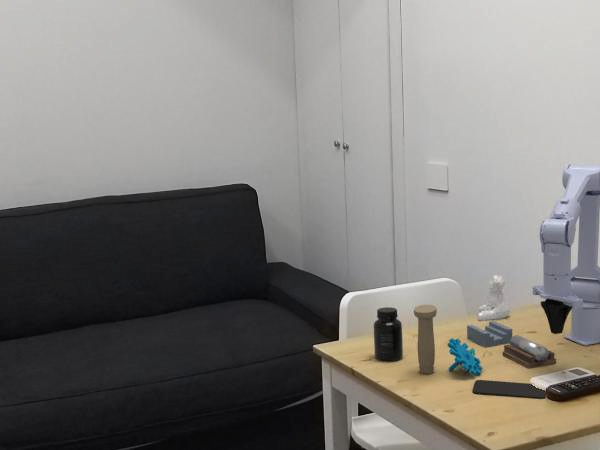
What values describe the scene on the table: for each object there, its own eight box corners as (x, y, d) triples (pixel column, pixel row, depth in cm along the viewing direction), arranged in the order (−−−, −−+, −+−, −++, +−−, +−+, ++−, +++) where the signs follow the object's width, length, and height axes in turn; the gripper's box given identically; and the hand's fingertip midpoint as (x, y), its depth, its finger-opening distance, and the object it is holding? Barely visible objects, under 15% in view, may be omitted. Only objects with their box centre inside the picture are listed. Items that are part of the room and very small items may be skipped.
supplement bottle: (408, 356, 196) (407, 308, 194) (391, 364, 191) (390, 315, 189) (385, 351, 201) (384, 304, 199) (368, 358, 196) (367, 310, 194)
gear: (474, 375, 177) (445, 339, 180) (455, 391, 179) (427, 355, 183) (492, 366, 186) (464, 332, 189) (473, 381, 188) (446, 347, 192)
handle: (413, 376, 183) (411, 312, 180) (418, 366, 189) (417, 304, 186) (434, 377, 181) (433, 313, 179) (439, 367, 187) (438, 305, 185)
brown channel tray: (529, 350, 196) (529, 340, 195) (555, 362, 187) (555, 352, 186) (502, 355, 193) (502, 345, 193) (528, 368, 184) (528, 357, 184)
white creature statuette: (479, 311, 231) (478, 270, 228) (510, 312, 228) (510, 270, 226) (477, 321, 222) (476, 278, 220) (509, 322, 219) (509, 279, 217)
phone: (545, 397, 166) (471, 391, 171) (545, 401, 166) (471, 395, 171) (546, 384, 173) (475, 379, 178) (546, 388, 173) (475, 382, 178)
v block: (493, 333, 210) (493, 320, 209) (512, 342, 202) (512, 328, 202) (467, 338, 207) (467, 325, 206) (485, 347, 200) (484, 333, 199)
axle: (509, 350, 194) (509, 336, 193) (521, 347, 195) (521, 333, 194) (535, 362, 185) (535, 348, 184) (548, 360, 186) (548, 345, 185)
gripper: (521, 268, 182) (521, 327, 184) (564, 282, 169) (563, 344, 171) (547, 265, 185) (547, 322, 187) (591, 277, 171) (590, 339, 173)
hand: (556, 332), depth 179 cm, fingers closed
